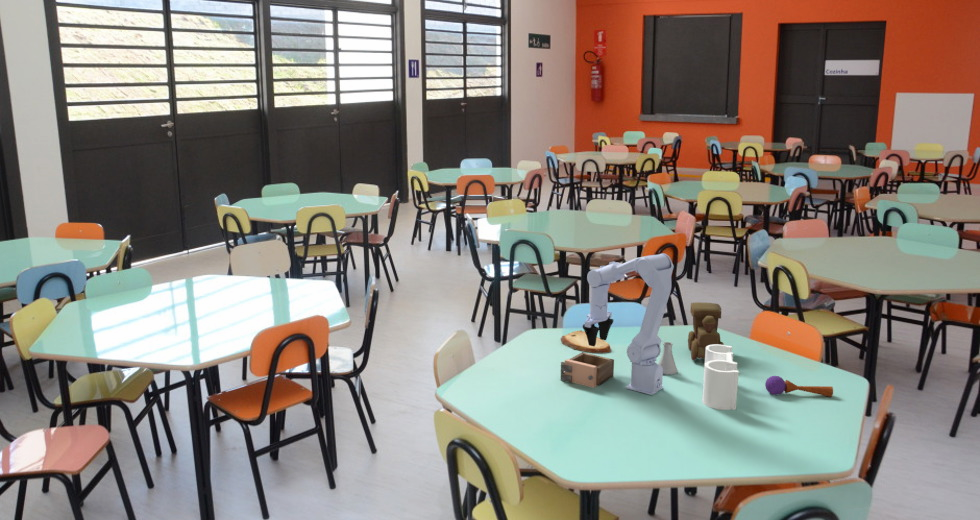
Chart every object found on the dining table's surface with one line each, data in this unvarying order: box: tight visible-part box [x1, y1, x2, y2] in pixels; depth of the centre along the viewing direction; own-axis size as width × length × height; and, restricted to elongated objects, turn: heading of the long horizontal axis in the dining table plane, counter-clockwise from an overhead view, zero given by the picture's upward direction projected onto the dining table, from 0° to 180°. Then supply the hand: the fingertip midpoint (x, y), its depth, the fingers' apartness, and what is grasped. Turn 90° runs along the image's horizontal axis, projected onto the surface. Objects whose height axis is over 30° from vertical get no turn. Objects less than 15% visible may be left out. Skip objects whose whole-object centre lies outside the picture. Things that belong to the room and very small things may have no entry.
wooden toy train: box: [687, 302, 725, 361], centre depth 289 cm, size 20×11×17 cm, turn 172°
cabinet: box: [560, 351, 615, 387], centre depth 269 cm, size 13×13×6 cm
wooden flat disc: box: [560, 330, 612, 354], centre depth 302 cm, size 18×18×4 cm
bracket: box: [702, 344, 740, 411], centre depth 256 cm, size 25×10×12 cm, turn 167°
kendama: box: [764, 375, 834, 398], centre depth 255 cm, size 6×6×20 cm
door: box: [564, 358, 597, 389], centre depth 264 cm, size 11×2×7 cm, turn 53°
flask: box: [657, 341, 678, 376], centre depth 274 cm, size 7×7×10 cm
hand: (597, 342), depth 276 cm, fingers open, 7 cm apart
